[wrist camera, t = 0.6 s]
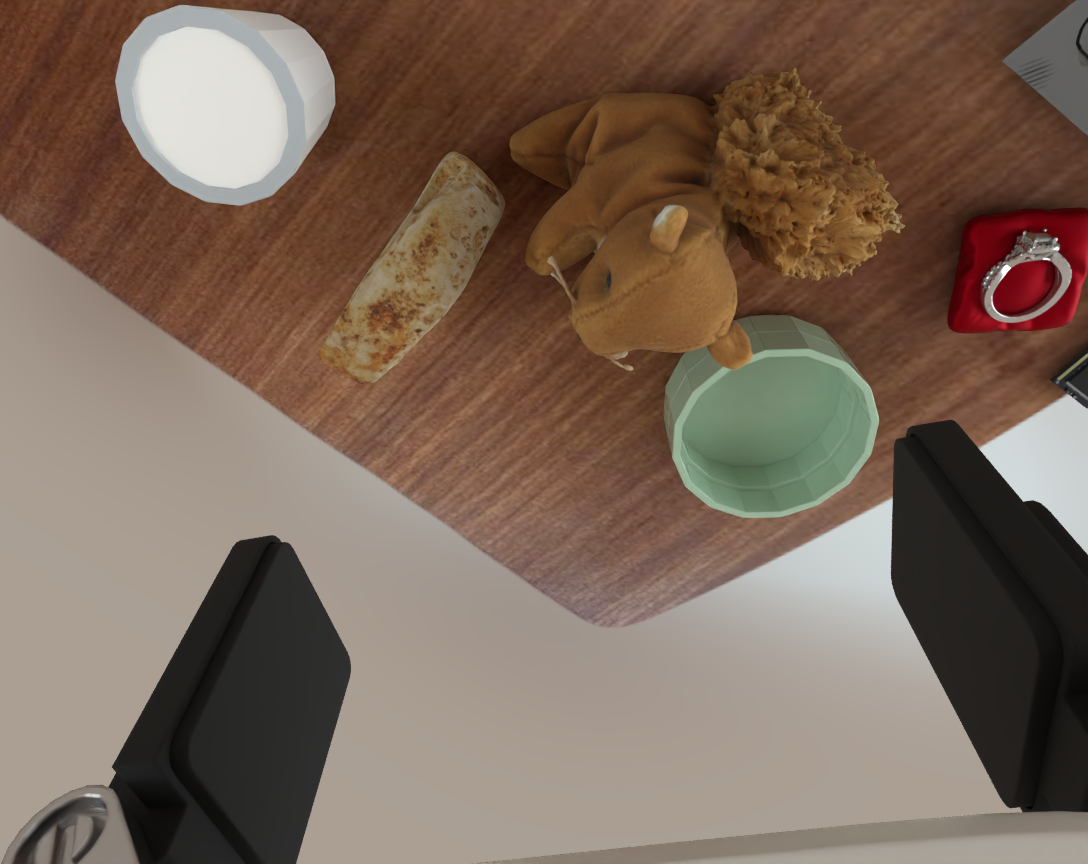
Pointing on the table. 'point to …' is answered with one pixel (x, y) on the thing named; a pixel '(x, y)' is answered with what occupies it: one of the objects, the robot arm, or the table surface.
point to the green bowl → (770, 421)
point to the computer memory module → (1075, 378)
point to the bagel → (417, 272)
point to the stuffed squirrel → (695, 208)
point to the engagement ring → (1020, 271)
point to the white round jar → (224, 99)
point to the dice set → (1059, 62)
